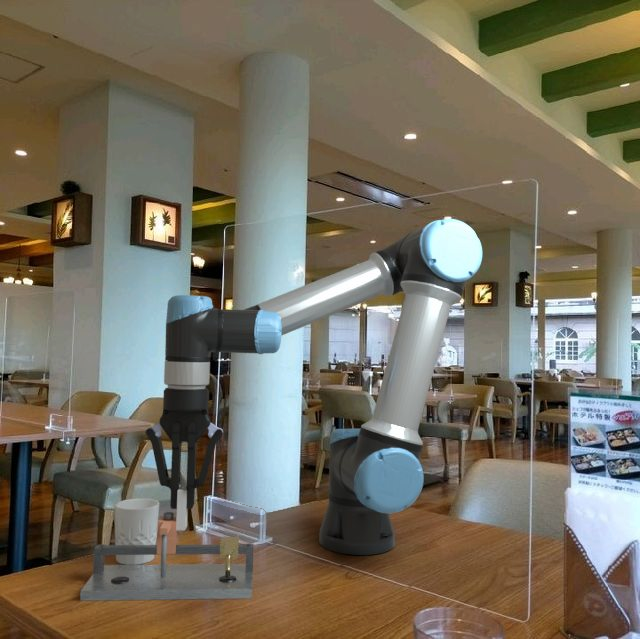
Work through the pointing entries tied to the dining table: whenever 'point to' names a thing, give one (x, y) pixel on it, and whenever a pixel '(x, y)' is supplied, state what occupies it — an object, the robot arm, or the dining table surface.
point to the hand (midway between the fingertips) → (181, 527)
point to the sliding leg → (166, 538)
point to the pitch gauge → (171, 574)
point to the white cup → (136, 527)
